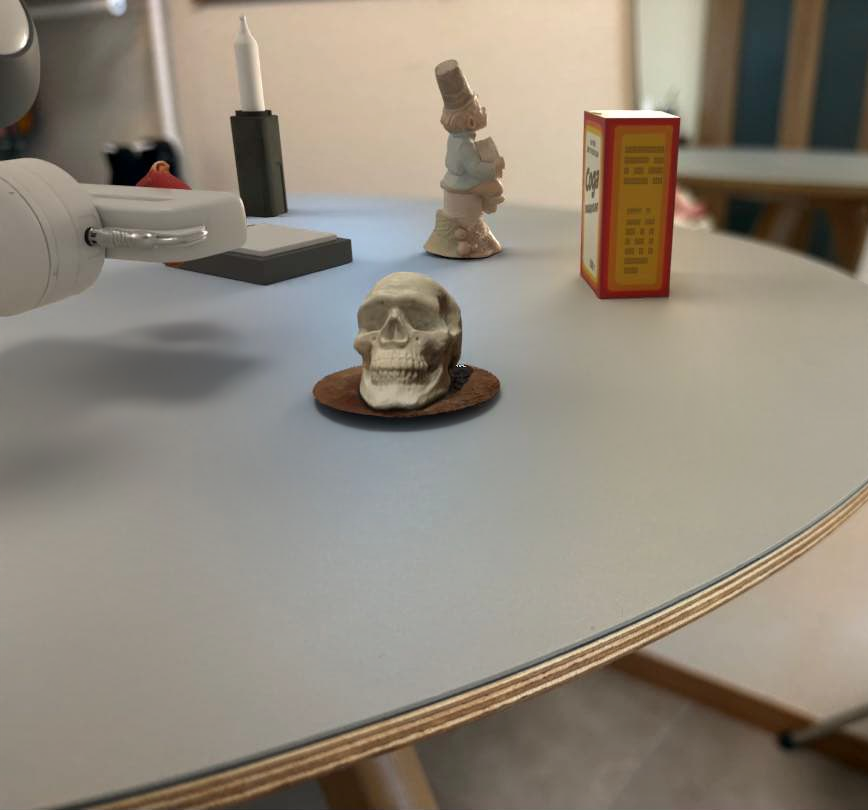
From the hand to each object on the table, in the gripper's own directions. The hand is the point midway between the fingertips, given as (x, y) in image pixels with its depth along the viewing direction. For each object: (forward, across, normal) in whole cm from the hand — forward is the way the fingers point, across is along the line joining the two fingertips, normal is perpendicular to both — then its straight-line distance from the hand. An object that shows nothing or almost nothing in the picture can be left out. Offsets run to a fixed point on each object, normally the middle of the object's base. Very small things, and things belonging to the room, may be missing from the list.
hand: (170, 200), depth 65 cm
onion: (-1, 0, +5) cm, 5 cm away
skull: (-9, -23, +10) cm, 27 cm away
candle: (+48, +23, +10) cm, 54 cm away
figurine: (+32, -12, +10) cm, 36 cm away
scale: (+21, +6, +10) cm, 24 cm away
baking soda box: (+23, -32, +10) cm, 40 cm away
